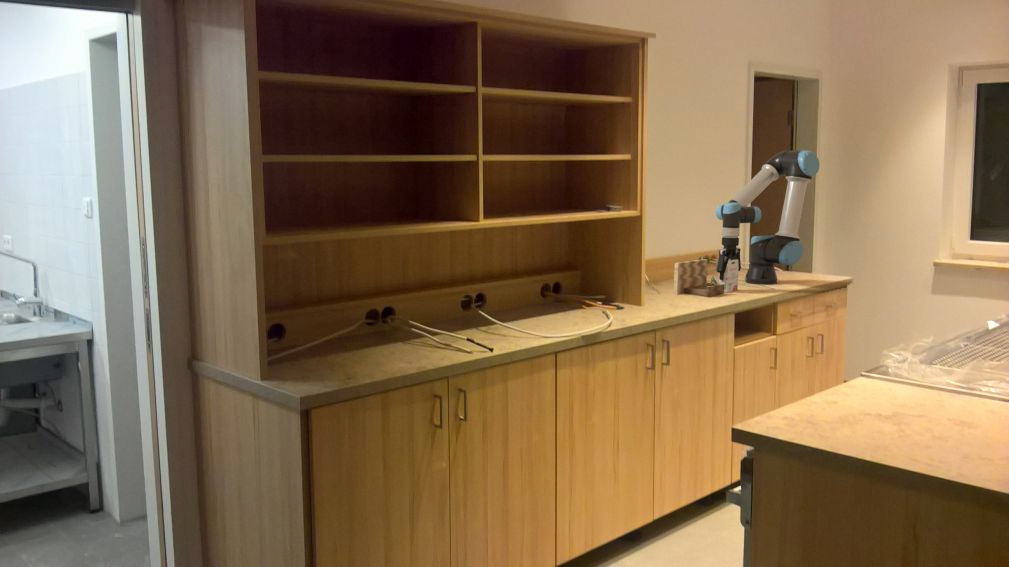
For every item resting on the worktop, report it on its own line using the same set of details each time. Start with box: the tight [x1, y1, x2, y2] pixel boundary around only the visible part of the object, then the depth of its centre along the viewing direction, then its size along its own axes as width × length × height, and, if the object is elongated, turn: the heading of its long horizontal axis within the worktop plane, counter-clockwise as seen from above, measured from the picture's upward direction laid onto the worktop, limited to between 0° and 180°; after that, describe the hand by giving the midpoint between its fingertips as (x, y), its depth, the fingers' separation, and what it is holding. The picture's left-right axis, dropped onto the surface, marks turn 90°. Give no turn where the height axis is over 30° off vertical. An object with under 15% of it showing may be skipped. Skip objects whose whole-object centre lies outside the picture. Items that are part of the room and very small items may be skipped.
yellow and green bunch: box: [698, 255, 719, 286], centre depth 407 cm, size 10×18×15 cm, turn 47°
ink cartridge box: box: [718, 259, 739, 293], centre depth 387 cm, size 9×5×15 cm, turn 131°
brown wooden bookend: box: [673, 258, 725, 298], centre depth 380 cm, size 22×15×14 cm
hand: (728, 285), depth 388 cm, fingers closed on ink cartridge box, 9 cm apart
